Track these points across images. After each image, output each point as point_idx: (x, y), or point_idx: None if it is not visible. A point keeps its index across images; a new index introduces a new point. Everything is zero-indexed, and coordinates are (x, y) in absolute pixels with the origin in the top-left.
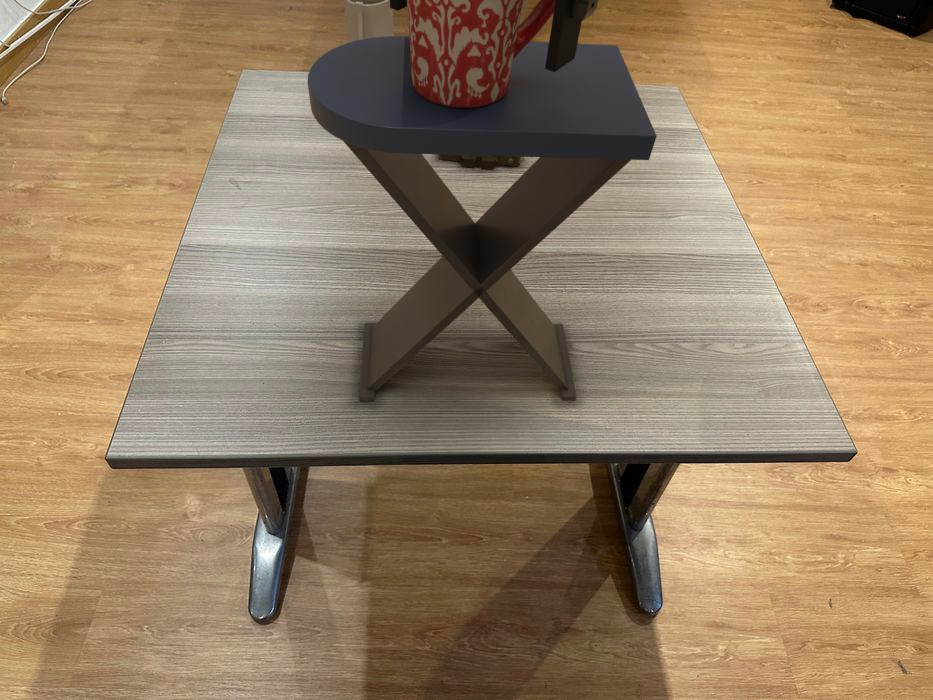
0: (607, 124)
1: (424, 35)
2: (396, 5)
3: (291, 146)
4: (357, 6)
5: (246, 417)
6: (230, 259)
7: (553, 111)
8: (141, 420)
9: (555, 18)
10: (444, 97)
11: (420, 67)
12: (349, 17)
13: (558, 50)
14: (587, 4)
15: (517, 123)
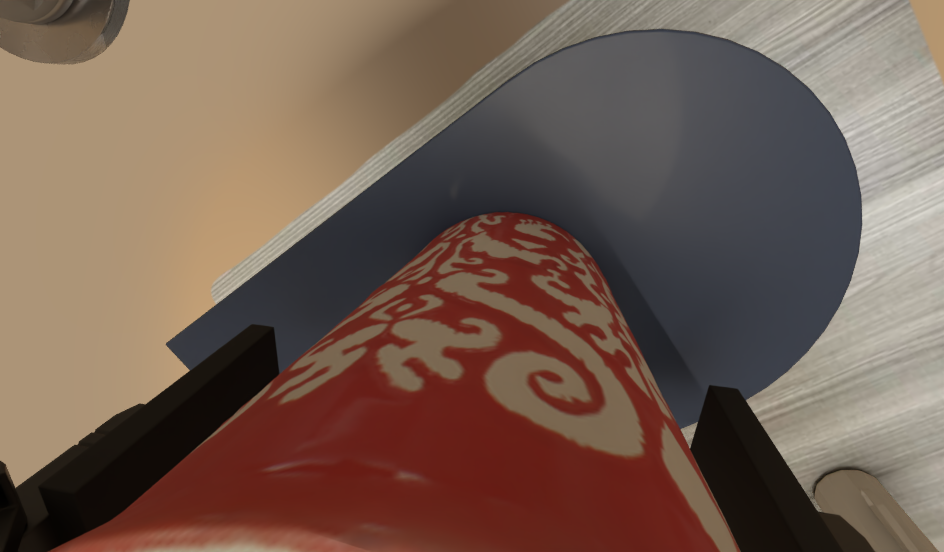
0: (232, 332)
1: (520, 247)
2: (718, 393)
3: (934, 392)
4: None
5: None
6: (886, 164)
7: (318, 318)
8: None
9: (193, 388)
10: (478, 217)
11: (543, 232)
12: None
13: (220, 348)
14: (95, 430)
15: (341, 247)
